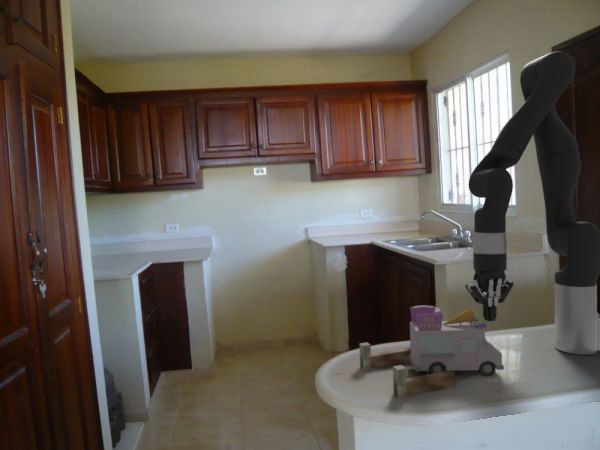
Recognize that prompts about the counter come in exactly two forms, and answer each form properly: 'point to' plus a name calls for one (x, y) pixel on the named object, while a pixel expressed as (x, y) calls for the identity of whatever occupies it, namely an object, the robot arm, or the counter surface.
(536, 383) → the counter surface
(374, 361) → the wooden rails pair
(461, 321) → the toy vehicle
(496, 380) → the counter surface
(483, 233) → the robot arm
